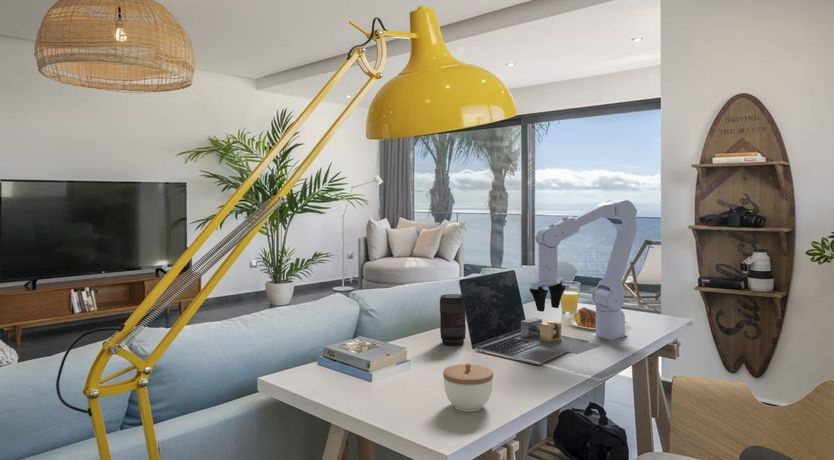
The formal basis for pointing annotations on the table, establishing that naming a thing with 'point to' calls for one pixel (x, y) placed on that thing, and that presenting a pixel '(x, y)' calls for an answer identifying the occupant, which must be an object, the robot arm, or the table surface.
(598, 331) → the robot arm
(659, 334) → the table surface
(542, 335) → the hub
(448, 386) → the lidded jar
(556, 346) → the mat
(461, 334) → the camera lens
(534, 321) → the shaft assembly
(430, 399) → the table surface
